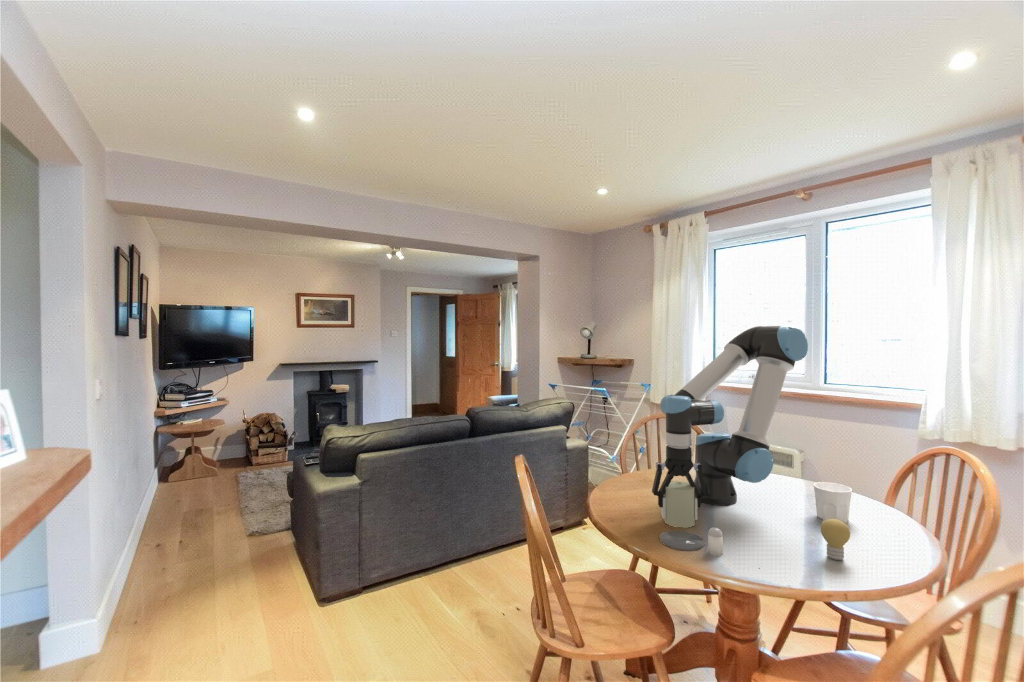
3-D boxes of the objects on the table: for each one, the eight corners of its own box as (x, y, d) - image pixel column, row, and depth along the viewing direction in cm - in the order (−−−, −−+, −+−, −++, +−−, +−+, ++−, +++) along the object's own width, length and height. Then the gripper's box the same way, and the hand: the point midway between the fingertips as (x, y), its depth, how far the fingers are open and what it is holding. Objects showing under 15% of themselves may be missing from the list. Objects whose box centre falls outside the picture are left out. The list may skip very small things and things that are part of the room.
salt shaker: (719, 550, 129) (719, 525, 129) (724, 556, 125) (724, 530, 125) (706, 549, 129) (706, 525, 129) (710, 556, 126) (710, 530, 126)
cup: (854, 517, 151) (854, 486, 151) (849, 527, 143) (849, 494, 143) (817, 509, 158) (817, 480, 157) (810, 518, 150) (810, 487, 150)
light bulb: (814, 553, 127) (814, 515, 127) (837, 551, 127) (837, 514, 127) (833, 564, 120) (832, 525, 120) (856, 563, 121) (856, 524, 121)
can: (694, 518, 151) (694, 481, 151) (695, 529, 143) (695, 490, 143) (664, 515, 154) (663, 478, 154) (663, 526, 146) (663, 487, 146)
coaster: (696, 532, 140) (696, 530, 140) (710, 551, 128) (710, 549, 128) (655, 531, 141) (655, 529, 141) (665, 550, 129) (665, 547, 129)
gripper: (710, 443, 151) (710, 513, 151) (641, 442, 153) (641, 512, 153) (718, 448, 144) (719, 523, 144) (645, 448, 146) (646, 521, 146)
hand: (679, 517), depth 149 cm, fingers closed on can, 9 cm apart
